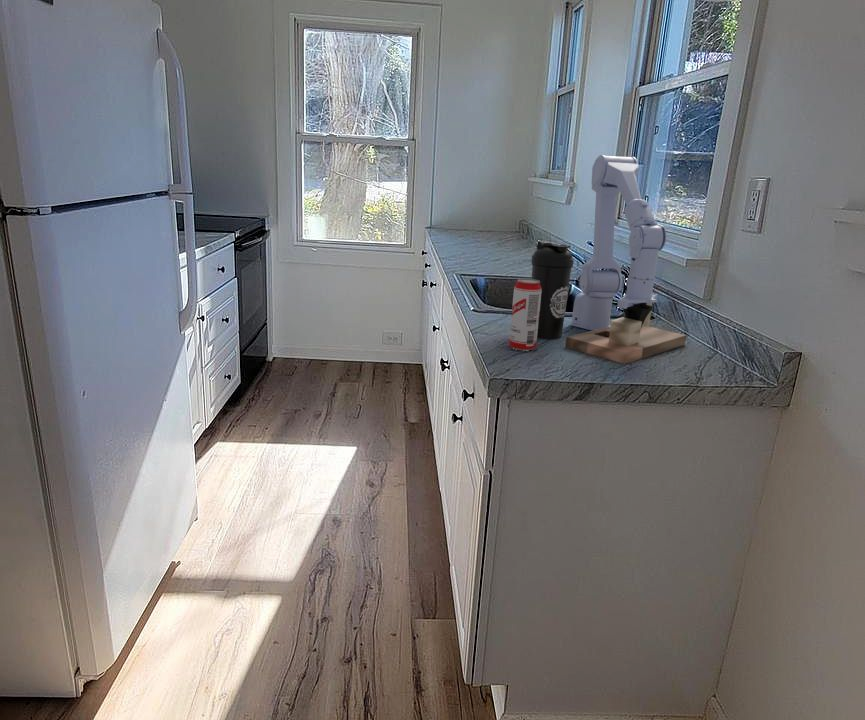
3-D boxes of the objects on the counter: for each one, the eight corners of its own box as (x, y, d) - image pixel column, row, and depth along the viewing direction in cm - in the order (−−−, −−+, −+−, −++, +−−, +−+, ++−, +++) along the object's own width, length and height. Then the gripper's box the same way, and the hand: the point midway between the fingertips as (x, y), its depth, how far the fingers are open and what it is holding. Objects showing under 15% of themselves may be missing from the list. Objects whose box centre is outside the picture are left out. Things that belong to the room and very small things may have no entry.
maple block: (608, 341, 152) (610, 320, 150) (620, 337, 155) (622, 317, 154) (627, 346, 149) (630, 325, 147) (639, 342, 152) (641, 321, 150)
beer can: (518, 353, 148) (525, 283, 143) (503, 346, 153) (509, 278, 148) (541, 351, 150) (548, 282, 146) (525, 343, 156) (531, 277, 151)
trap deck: (565, 347, 155) (566, 336, 154) (627, 331, 173) (629, 321, 173) (624, 363, 144) (626, 353, 143) (684, 344, 162) (686, 335, 162)
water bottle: (547, 342, 158) (557, 247, 151) (516, 332, 165) (524, 241, 159) (573, 336, 165) (584, 245, 158) (541, 327, 172) (550, 240, 165)
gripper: (641, 283, 143) (632, 343, 147) (672, 278, 152) (663, 334, 156) (612, 278, 148) (605, 336, 152) (645, 273, 157) (637, 327, 161)
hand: (633, 334), depth 154 cm, fingers closed
